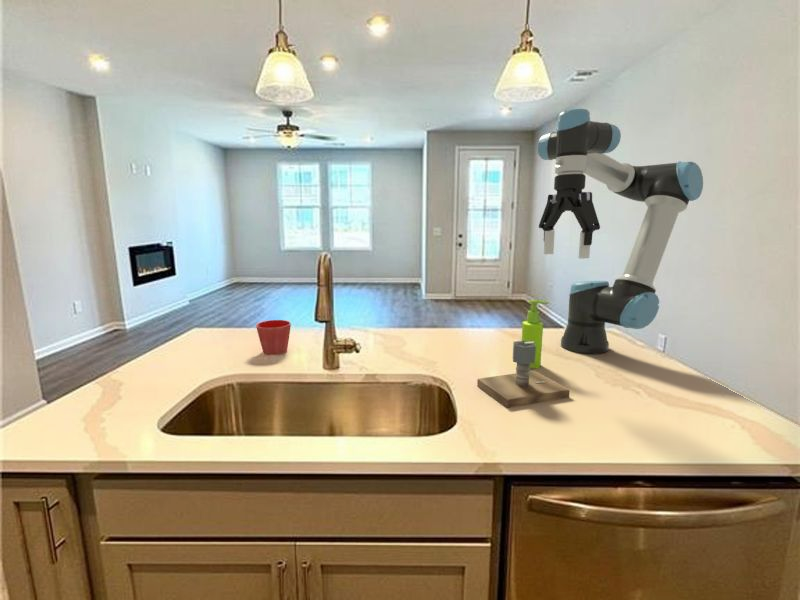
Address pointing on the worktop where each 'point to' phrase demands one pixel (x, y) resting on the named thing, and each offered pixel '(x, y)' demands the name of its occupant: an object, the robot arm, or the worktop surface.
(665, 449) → the worktop surface
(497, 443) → the worktop surface
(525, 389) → the wooden board with bolt
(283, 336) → the flower pot
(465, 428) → the worktop surface
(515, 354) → the knob
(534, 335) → the soap dispenser
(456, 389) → the worktop surface
